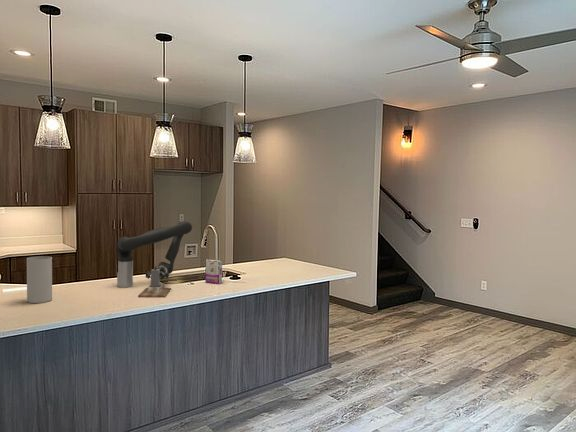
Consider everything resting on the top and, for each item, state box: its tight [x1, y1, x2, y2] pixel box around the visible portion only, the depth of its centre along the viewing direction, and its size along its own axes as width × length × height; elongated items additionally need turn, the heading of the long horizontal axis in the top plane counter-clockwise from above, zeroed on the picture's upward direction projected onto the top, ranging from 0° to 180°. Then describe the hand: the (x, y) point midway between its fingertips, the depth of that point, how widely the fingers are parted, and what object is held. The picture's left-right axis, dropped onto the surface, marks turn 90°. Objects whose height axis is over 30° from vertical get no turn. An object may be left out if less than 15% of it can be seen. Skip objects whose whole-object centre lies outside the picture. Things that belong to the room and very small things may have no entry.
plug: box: [150, 264, 161, 287], centre depth 268 cm, size 5×5×17 cm
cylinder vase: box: [26, 255, 53, 304], centre depth 244 cm, size 12×12×25 cm
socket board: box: [137, 284, 172, 298], centre depth 269 cm, size 16×20×5 cm
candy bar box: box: [205, 259, 223, 285], centre depth 303 cm, size 11×5×16 cm, turn 70°
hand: (155, 277), depth 268 cm, fingers open, 8 cm apart
